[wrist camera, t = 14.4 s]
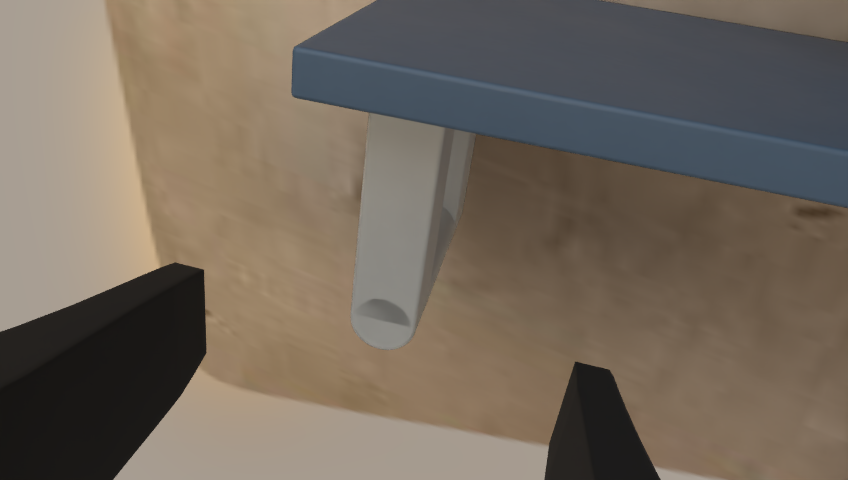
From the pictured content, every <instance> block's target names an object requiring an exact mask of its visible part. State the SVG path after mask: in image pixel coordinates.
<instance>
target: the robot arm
mask: <svg viewBox="0 0 848 480" xmlns="http://www.w3.org/2000/svg"><path fill="white" fill-rule="evenodd" d="M205 354H206V323H205V290H204V270H203V269H199V268H195V267H191V266H187V265H183V264H179V263H172V264H170V265H167V266H164V267H161V268H159V269H156V270H154V271H151V272H149V273H147V274H144V275H142V276H140V277H137V278H135V279H133V280H130V281H128V282H126V283H123V284H121V285H119V286H116V287H114V288H112V289H109V290H107V291H105V292H102V293H100V294H97V295H95V296H93V297H90V298H88V299H86V300H83V301H81V302H79V303H76V304H74V305H71V306H69V307H66V308H63V309H61V310H58V311H56V312H53V313H50V314H48V315H45V316H43V317H40V318H37V319H35V320H32V321H29V322H27V323H24V324H22V325H19V326H16V327H13V328H10V329H7V330H5V331H2V332H0V480H113V479H114V478H115V476H116V475H117V474H118V473H119V472H120V470H121V469H122V468H123V466H124V465H125V464H126V463H127V462H128V460H129V459H130V458H131V457H132V456H133V454H134V453H135V452H136V451H137V449H138V448H139V447H140V446H141V444H142V443H143V442H144V441H145V440H146V438H147V437H148V436H149V435H150V433H151V432H152V431H153V430H154V429H155V427H156V426H157V425H158V424H159V422H160V421H161V420H162V418H163V417H164V416H165V415H166V414H167V412H168V411H169V410H170V409H171V407H172V406H173V405H174V403H175V402H176V401H177V400H178V398H179V397H180V396H181V394H182V393H183V391H184V389H185V388H186V386H187V384H188V383H189V381H190V380H191V378H192V377H193V375H194V373H195V372H196V370H197V368H198V366H199V365H200V363H201V361H202V360H203V358H204V356H205ZM545 480H660V478H659V476H658V474H657V472H656V470H655V468H654V466H653V464H652V462H651V460H650V458H649V456H648V454H647V452H646V450H645V448H644V446H643V444H642V442H641V440H640V438H639V436H638V434H637V432H636V430H635V427H634V425H633V423H632V421H631V418H630V416H629V414H628V412H627V409H626V407H625V404H624V402H623V400H622V397H621V395H620V392H619V390H618V387H617V384H616V382H615V379H614V376H613V375H612V373H611V372H610V370H608V369H604V368H600V367H595V366H591V365H587V364H583V363H579V362H575V364H574V367H573V370H572V373H571V377H570V380H569V383H568V386H567V389H566V393H565V396H564V399H563V402H562V405H561V408H560V412H559V415H558V418H557V421H556V424H555V427H554V431H553V434H552V437H551V440H550V443H549V450H548V458H547V466H546V472H545Z"/></svg>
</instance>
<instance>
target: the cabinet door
mask: <svg viewBox="0 0 848 480" xmlns="http://www.w3.org/2000/svg"><path fill="white" fill-rule="evenodd" d="M292 96H293V97H295V98H299V99H304V100H309V101H314V102H319V103H324V104H329V105H334V106H339V107H344V108H349V109H354V110H359V111H364V112H369V117H368V128H367V139H366V150H365V161H364V172H363V183H362V194H361V205H360V216H359V227H358V238H357V249H356V260H355V271H354V282H353V293H352V304H351V323H352V327H353V329H354V331H355V333H356V334H357V335H358V336H359V338H360V339H361V340H363V341H364V342H365V343H367V344H368V345H370V346H372V347H375V348H378V349H382V350H393V349H398V348H400V347H402V346H404V345H406V344H407V343H408V342H409V341H410V340H411V339H412V338H413V336H414V334H415V331H416V328H417V326H418V323H419V321H420V318H421V316H422V313H423V311H424V308H425V306H426V303H427V301H428V298H429V296H430V293H431V290H432V288H433V285H434V283H435V280H436V278H437V275H438V273H439V270H440V268H441V265H442V263H443V260H444V257H445V255H446V252H447V250H448V247H449V245H450V242H451V240H452V237H453V235H454V232H455V230H456V227H457V224H458V222H459V219H460V217H461V214H462V211H463V206H464V201H465V195H466V189H467V184H468V178H469V172H470V166H471V161H472V155H473V149H474V144H475V138H476V134H479V135H484V136H489V137H494V138H499V139H504V140H509V141H514V142H519V143H524V144H529V145H534V146H539V147H544V148H549V149H554V150H559V151H564V152H569V153H575V154H580V155H585V156H590V157H595V158H600V159H605V160H610V161H615V162H620V163H625V164H630V165H635V166H640V167H645V168H650V169H655V170H660V171H665V172H670V173H675V174H680V175H685V176H690V177H695V178H700V179H705V180H710V181H715V182H720V183H725V184H730V185H735V186H740V187H745V188H750V189H755V190H760V191H765V192H770V193H775V194H780V195H785V196H790V197H795V198H800V199H805V200H810V201H815V202H820V203H825V204H830V205H835V206H840V207H845V208H848V43H847V42H841V41H835V40H829V39H824V38H818V37H812V36H806V35H800V34H794V33H788V32H782V31H776V30H770V29H765V28H759V27H753V26H747V25H741V24H735V23H729V22H723V21H717V20H712V19H706V18H700V17H694V16H688V15H682V14H676V13H670V12H664V11H658V10H653V9H647V8H641V7H635V6H629V5H623V4H617V3H611V2H605V1H600V0H376V1H375V2H373V3H371V4H369V5H367V6H366V7H364V8H362V9H360V10H359V11H357V12H355V13H353V14H352V15H350V16H348V17H346V18H344V19H343V20H341V21H339V22H337V23H336V24H334V25H332V26H330V27H328V28H327V29H325V30H323V31H321V32H320V33H318V34H316V35H314V36H313V37H311V38H309V39H307V40H305V41H304V42H302V43H300V44H298V45H297V46H295V47H294V49H293V61H292Z"/></svg>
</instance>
